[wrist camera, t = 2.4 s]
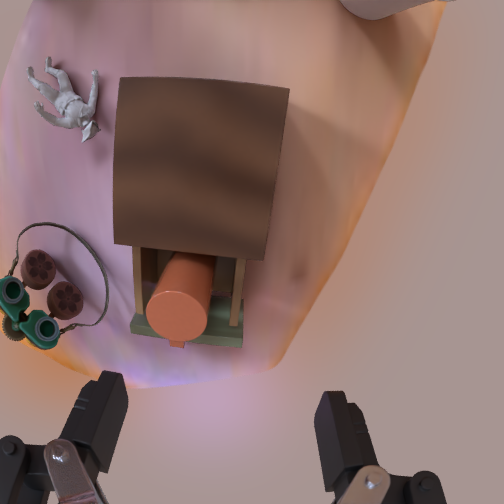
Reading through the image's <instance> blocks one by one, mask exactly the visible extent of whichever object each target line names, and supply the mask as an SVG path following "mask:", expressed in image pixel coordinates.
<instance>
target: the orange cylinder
mask: <svg viewBox="0 0 504 504" xmlns="http://www.w3.org/2000/svg"><path fill="white" fill-rule="evenodd" d="M217 263H218V256H215V255H206V254H197V253H188V252H179V251H173V252H172V254H171V256H170V258H169V260H168V262H167V264H166V266H165V268H164V270H163V272H162V275H161V277H160V279H159V281H158V283H157V285H156V287H155V289H154V291H153V294H152V296H151V298H150V300H149V302H148V304H147V308H146V316H147V320H148V322H149V324H150V326H151V327H152V328H153V330H154V331H155V332H156V333H158V334H159V335H161V336H162V337H164V338H166V339H169V340H170V346H172V347H180V348H184V345H185V341H190V340H193V339H195V338H197V337H198V336H200V335H201V334H202V333H203V332H204V330H205V328H206V326H207V320H208V314H209V309H210V303H211V297H212V291H213V285H214V280H215V274H216V269H217Z"/></svg>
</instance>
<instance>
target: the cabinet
mask: <svg viewBox="0 0 504 504" xmlns="http://www.w3.org/2000/svg"><path fill="white" fill-rule="evenodd" d="M289 91H290V89H289V88H283V87H276V86H270V85H263V84H255V83H247V82H238V81H228V80H216V79H202V78H183V77H121V78H120V83H119V91H118V101H117V112H116V124H115V139H114V161H113V229H114V244H120V245H128V246H137V247H145V248H154V249H162V250H171V251H179V252H188V253H197V254H206V255H215V256H223V257H232V258H241V259H250V260H259V261H263V260H264V254H265V247H266V241H267V235H268V229H269V222H270V216H271V210H272V203H273V197H274V191H275V184H276V178H277V171H278V165H279V158H280V152H281V145H282V138H283V132H284V125H285V118H286V111H287V105H288V98H289Z"/></svg>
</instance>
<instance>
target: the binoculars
mask: <svg viewBox="0 0 504 504" xmlns="http://www.w3.org/2000/svg"><path fill="white" fill-rule="evenodd" d="M43 225H49V226H55V227H59V228H62V229H64V230H66V231H68V232H69V233H71V234H72V235H74V236H75V237H76V238H77V239H78V240H79V241H81V242H82V243H83V244H84V245H85V247H86V248H87V249H88V250H89V251H90V253H91V254H92V255H93V257H94V258H95V260H96V262H97V263H98V265H99V267H100V269H101V271H102V273H103V276H104V280H105V286H106V303H105V309H104V312H103V314H102V316H101V317H100V319H99V320H98V321H97V322H96V323H95V324H93V325H85V324H78V323H74V324H75V326H72V325H74V324H70V325H69V326H68V327H66V328H64V329H60V330H59V326H58V324H57V322H56V321H55V320H54V319H53V318H54V317H56V318H58V319H61V320H69V319H71V318H73V317H75V316H77V315H78V314H79V313H80V312H81V311H82V308H83V297H82V295H81V293H80V291H79V290H78V288H77V287H76V286H75V285H73V284H71V283H69V282H59V283H57V284H56V285H55V286H54V287H53V288H52V289H51V290H50V291H49V293H48V297H47V305H48V308H49V310H50V312H51V313H50V314H49V315H47V314H46V313H45V312H44V311H43V310H33V311H32V312H31V313H30V314H29V315H28V316H27V315H26V314H25V313H24V311H25V310H26V309H27V308H28V307H29V305H30V299H29V294H28V293H27V292H26V290H25V289H24V288H25V287H26V286H28V287H30V288H32V289H35V290H41V289H44V288H46V287H47V286H48V285H49V284H50V283H51V282H52V281H53V279H54V277H55V274H56V268H55V264H54V262H53V260H52V258H51V257H50V256H49V255H48V254H47V253H46V252H44V251H41V250H32V251H30V252H29V253H28V254H27V255H26V257H25V259H24V261H23V263H22V265H21V276H22V279H23V282H21V281H20V280H19V279H17V278H15V277H12V275H13V271H14V269H15V266H16V265H17V263H18V259H19V255H18V240H19V237H20V236H21V235H22V234H23V233H24V232H25V231H26V230H28V229H29V228H31V227H35V226H43ZM18 240H17V250H16V258H15V259H14V260H13V264H12V267H11V270H9V273H10V275H9V273H8V275H7V276H5V277H4V278H2V279H0V312H1V313H2V314H4V315H5V316H4V317H5V318H3V321H2V322H3V323H2V325H3V326H2V328H4V329H3V331H4V333H6V334H5V335H6V336H7V335H8V336H7V337H8V338H9V337H10V338H9V339H12V340H14V341H16V340H17V341H21V340H23V338H26V340H27V342H28V343H29V344H30V345H32V346H34V347H38V348H39V349H43V350H47V349H51V348H53V347H55V346H56V345H57V342H58V339H59V338H60V335H61V334H63V333H65V332H66V331H68V330H73V329H74V328H75V327H76V326H94V325H97V324H98V323H99V322H100V321H101V320H102V318H103V317H104V315H105V314H106V311H107V308H108V301H109V286H108V280H107V275H106V273H105V270H104V268H103V266H102V264H101V262H100V260H99V259H98V257H97V256H96V254H95V253H94V251H93V250H92V249H91V248H90V246H89V245H88V244H87V243H86V242H85V241H84V240H83V239H82V238H81V237H80V236H79V235H77V234H76V233H75V232H74V231H72V230H70V229H69V228H67V227H65V226H63V225H60V224H56V223H51V222H43V223H35V224H32V225H30V226H28V227H26V228H25V229H24V230H23V231H22V232H21V233H20V234H19V236H18ZM16 259H17V262H16ZM60 332H63V333H60Z"/></svg>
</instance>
